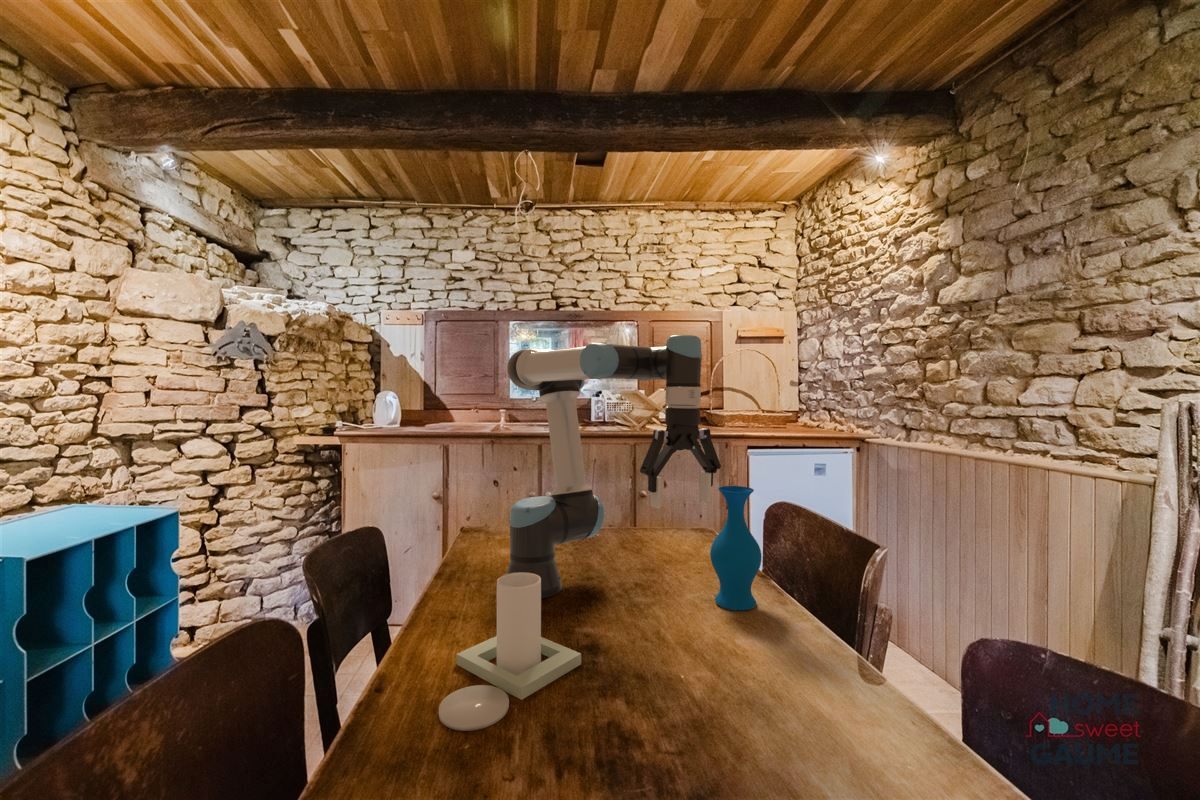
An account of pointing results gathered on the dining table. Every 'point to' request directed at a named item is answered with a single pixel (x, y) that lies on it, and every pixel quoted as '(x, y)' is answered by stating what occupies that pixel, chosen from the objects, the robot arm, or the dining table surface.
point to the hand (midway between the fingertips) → (681, 504)
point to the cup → (518, 622)
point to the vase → (735, 554)
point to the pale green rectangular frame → (527, 680)
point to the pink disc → (473, 707)
